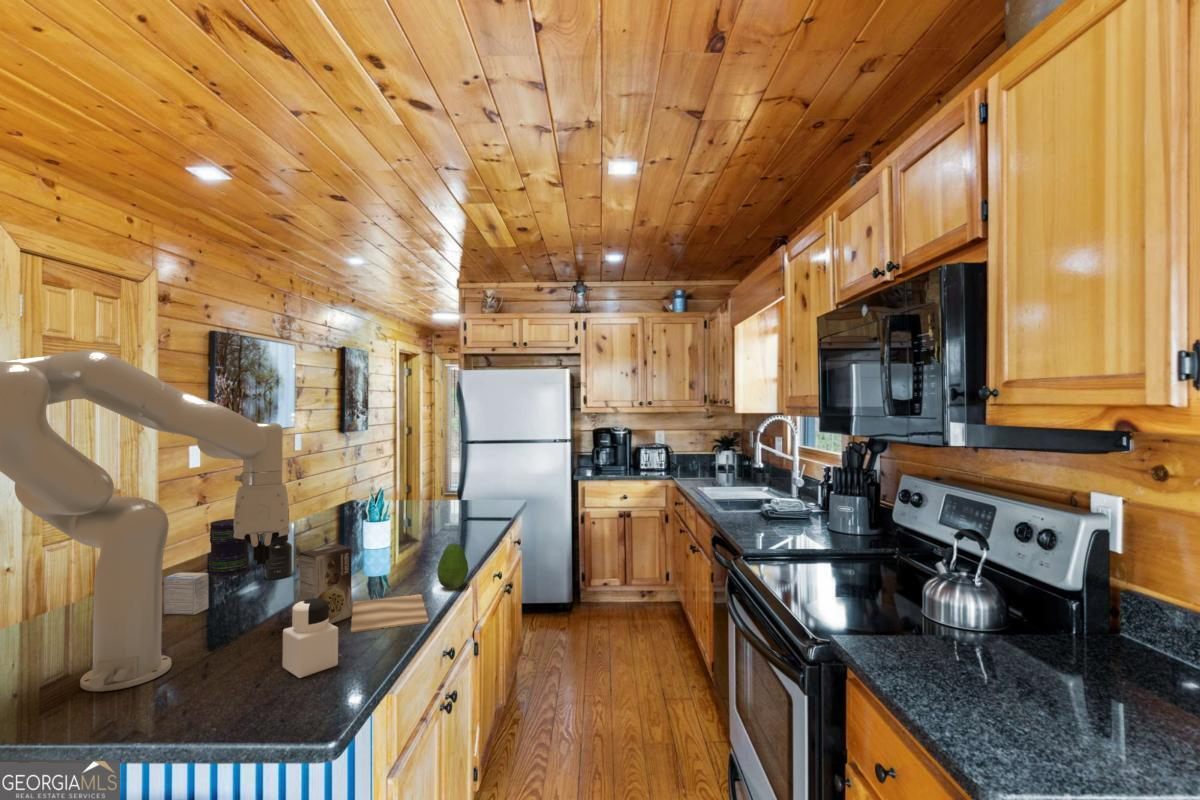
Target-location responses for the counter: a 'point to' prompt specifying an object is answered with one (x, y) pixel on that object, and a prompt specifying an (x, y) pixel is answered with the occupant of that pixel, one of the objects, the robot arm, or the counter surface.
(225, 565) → the dark purple cylinder
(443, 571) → the avocado
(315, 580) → the coffee box
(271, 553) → the supplement bottle
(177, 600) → the medicine box
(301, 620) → the medicine bottle
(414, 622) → the wooden cutting board
